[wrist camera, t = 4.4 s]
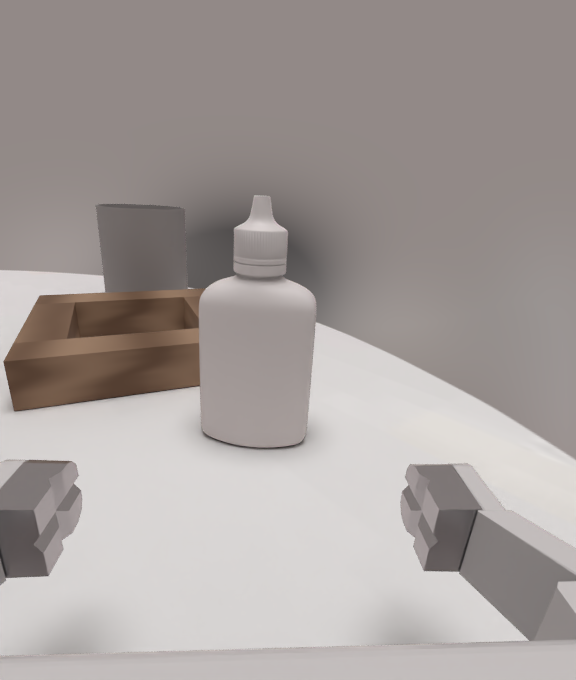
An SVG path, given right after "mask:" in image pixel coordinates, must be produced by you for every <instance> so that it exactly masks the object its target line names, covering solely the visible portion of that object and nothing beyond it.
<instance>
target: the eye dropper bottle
mask: <svg viewBox="0 0 576 680" xmlns="http://www.w3.org/2000/svg"><path fill="white" fill-rule="evenodd" d="M287 240H288V231H287V230H286V229H284V228H283V227H281V226H280V225H278V224H277V223H276V222H275V220H274V218H273V214H272V207H271V199H270V196H257V195H255V196H254V199H253V204H252V209H251V214H250V217H249V219H248V220H247V221H246V222H245V223H243V224H241V225H239V226H237V227H235V228H234V271H235V272H236V273H237V274H236V275H235V276H233V277H229V278H225V279H222V280H219V281H217V282H215V283H213V284H212V285H210V286H209V287H207V288H206V289H205V291H204V292H203V293H202V295H201V297H200V300H199V359H200V402H201V427H202V430H203V431H204V432H205V433H206V434H207V435H208V436H210V437H212V438H215V439H217V440H220V441H223V442H227V443H231V444H235V445H240V446H247V447H258V448H272V447H284V446H290V445H295V444H298V443H300V442H301V441H302V440H303V438H304V437H305V435H306V430H307V420H308V409H309V397H310V385H311V373H312V361H313V349H314V337H315V323H316V300H315V297H314V296H313V294H312V293H311V292H310V291H309V290H308V289H306V288H305V287H303V286H301V285H299V284H297V283H295V282H292V281H289V280H287V279H285V278H284V277H283V276H282V275H283V274H285V273H286V259H287V258H286V257H287Z"/></svg>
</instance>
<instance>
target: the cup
mask: <svg viewBox="0 0 576 680" xmlns="http://www.w3.org/2000/svg"><path fill="white" fill-rule="evenodd" d="M96 212H97V220H98V229H99V238H100V247H101V256H102V265H103V274H104V283H105V292H106V293H112V292H135V291H159V290H182V289H188V288H187V261H186V233H185V209H184V208H180V207H170V206H156V205H135V204H134V205H133V204H99V205H96Z"/></svg>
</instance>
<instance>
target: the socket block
mask: <svg viewBox="0 0 576 680" xmlns="http://www.w3.org/2000/svg"><path fill="white" fill-rule="evenodd" d="M204 291H205V289H182V290H159V291H135V292H112V293H88V294H65V295H41V296H39V298H38V300H37V302H36V303H35V305H34V307H33V309H32V311H31V312H30V314H29V316H28V318H27V320H26V322H25V323H24V325H23V327H22V329H21V331H20V332H19V334H18V336H17V338H16V340H15V342H14V343H13V345H12V347H11V349H10V351H9V352H8V354H7V356H6V358H5V360H4V366H5V371H6V375H7V380H8V385H9V389H10V394H11V398H12V403H13V407H14V411H19V410H26V409H33V408H40V407H47V406H55V405H62V404H69V403H76V402H83V401H91V400H98V399H105V398H112V397H119V396H127V395H134V394H141V393H148V392H155V391H163V390H170V389H177V388H184V387H191V386H199V385H200V359H199V300H200V297H201V295H202V293H203V292H204ZM180 329H182V330H180ZM167 330H170V331H167ZM155 331H157V332H155ZM143 332H145V333H143ZM131 333H133V334H131ZM118 334H121V335H118ZM106 335H109V336H106ZM94 336H96V337H94ZM82 337H84V338H82Z"/></svg>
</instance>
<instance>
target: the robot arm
mask: <svg viewBox="0 0 576 680" xmlns="http://www.w3.org/2000/svg"><path fill="white" fill-rule="evenodd" d="M78 476H79V475H78V470H77V465H76V464H75V463H74V462H72V461H48V460H5V461H2V462H0V585H1V584H2V583H4V582H5V581H6V578H18V577H41V576H49V574H50V573H51V571H52V569H53V567H54V565H55V564H56V562H57V560H58V558H59V556H60V555H61V553H62V551H63V544H62V540H63V539H65V538H66V537H67V536H69V535H70V534H72V533H73V531H74V529H75V527H76V525H77V523H78V521H79V517H80V514H81V510H82V494H81V490H80V489H79V488H78V487H77V486H76V485H75V484H74V482H75V480H76V479H77V477H78ZM405 478H406V480H407V482H408V484H409V485H408V486H407V487H406V488H405V489H404V490H403V491H402V496H401V502H400V503H401V515H402V520H403V523H404V526H405V528H406V531H407V532H409V533H410V534H411V535H412V536H414V537H415V541H414V545H413V547H414V549H415V552H416V554H417V556H418V559H419V561H420V563H421V566H422V568H423V570H424V571H449V572H460V573H459V574H460V575H461V576H462V577H464V578H465V579H466V580H467V581H468V582H469V583H470V584H471V585H472V586H473V587H474V588H475V589H476V590H477V591H478V592H479V593H480V594H481V595H482V596H483V597H484V598H485V599H487V600H488V601H489V602H490V603H491V604H492V605H493V606H494V607H495V608H496V609H497V610H498V611H499V612H500V613H501V614H502V615H503V616H504V617H505V618H506V619H507V620H508V621H510V622H511V623H512V624H513V625H514V626H515V627H516V628H517V629H518V630H519V631H520V632H521V633H522V634H523V635H524V636H525V637H526V638H527V639H528V640H529V641H507V642H471V643H436V644H401V645H367V646H332V647H298V648H263V649H227V650H192V651H157V652H122V653H87V654H52V655H17V656H0V680H576V548H574V547H573V546H571V545H569V544H568V543H566V542H564V541H563V540H561V539H559V538H558V537H556V536H554V535H553V534H551V533H549V532H547V531H546V530H544V529H542V528H541V527H539V526H537V525H536V524H534V523H532V522H531V521H529V520H527V519H526V518H524V517H522V516H521V515H519V514H517V513H516V512H514V511H511V510H505V508H504V507H503V506H502V504H501V503H500V502H499V501H498V499H497V498H496V497H495V495H494V494H493V493H492V491H491V490H490V489H489V488H488V486H487V485H486V484H485V482H484V481H483V480H482V478H481V477H480V476H479V475H478V473H477V472H476V471H475V469H474V468H473V467H472V466H471V465H469V464H467V463H464V464H410V465H409V466H408V468H407V471H406V476H405Z"/></svg>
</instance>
